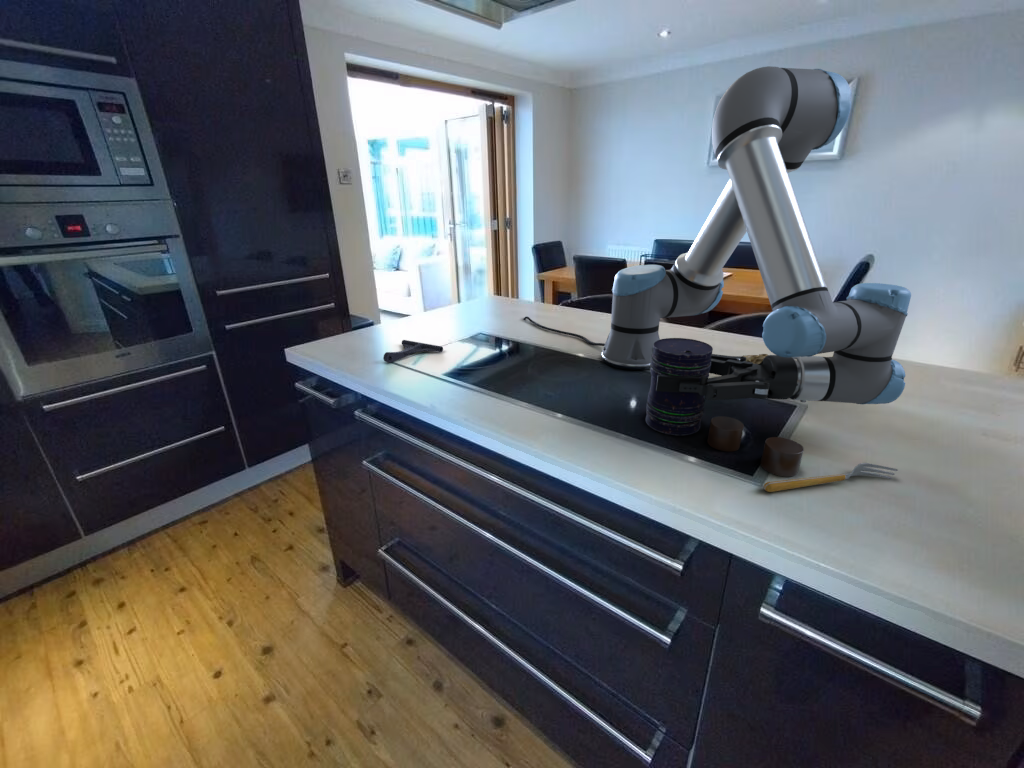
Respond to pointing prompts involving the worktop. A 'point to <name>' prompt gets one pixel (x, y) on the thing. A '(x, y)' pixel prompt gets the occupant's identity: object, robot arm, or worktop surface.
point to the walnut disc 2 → (781, 456)
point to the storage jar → (677, 408)
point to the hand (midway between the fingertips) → (653, 371)
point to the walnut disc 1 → (725, 433)
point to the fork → (827, 478)
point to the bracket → (410, 350)
